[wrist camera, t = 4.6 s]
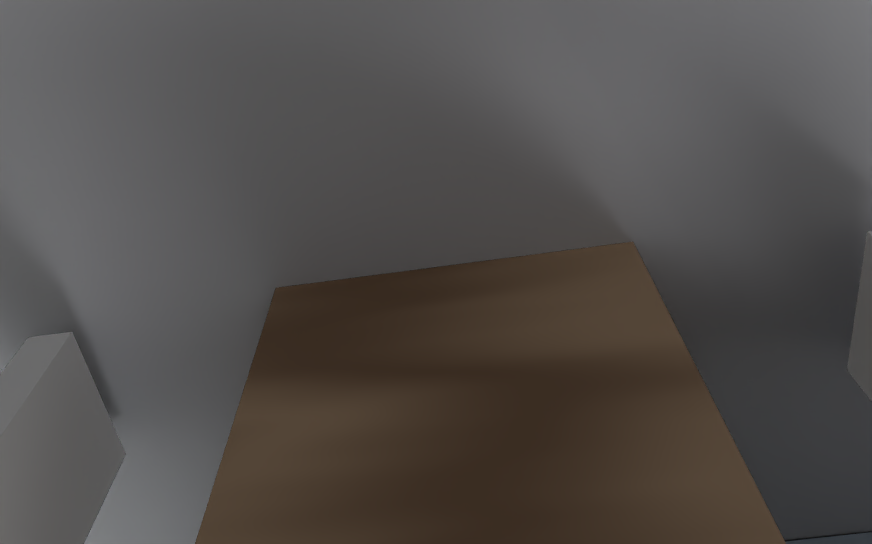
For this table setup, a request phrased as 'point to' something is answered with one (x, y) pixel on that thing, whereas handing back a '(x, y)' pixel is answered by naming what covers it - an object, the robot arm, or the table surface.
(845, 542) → the box
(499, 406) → the brown flat block
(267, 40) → the table surface
